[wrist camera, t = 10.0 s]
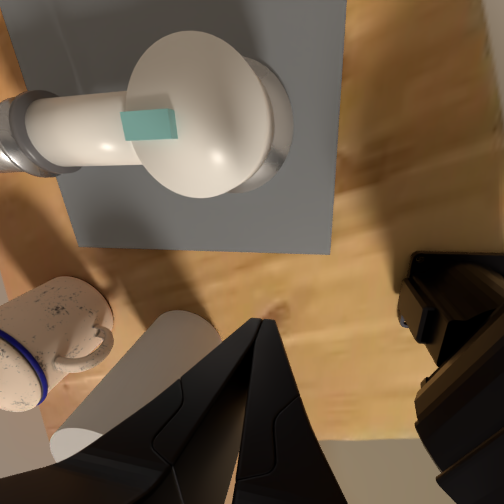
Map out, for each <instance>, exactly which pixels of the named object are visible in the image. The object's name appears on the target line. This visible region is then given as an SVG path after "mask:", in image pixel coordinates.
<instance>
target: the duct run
mask: <svg viewBox="0 0 504 504" xmlns="http://www.w3.org/2000/svg"><path fill="white" fill-rule="evenodd" d="M14 99H15V97H12V98H8V99H5V100H3V101H2V102H0V173H10V172H26V173H28V174H30V175H33V176H37V177H44V178H46V177H56V176H59V175H61V174H57V173H51V172H48V171H46V170H43V169H41V168H40V167H38V166H37V165H35V164H34V163H33V162H31V161H30V160H29V159H28V158H27V157H26V156H25V155H24V154H23V152H22V151H21V150H20V148H19V147H18V145H17V143H16V142H15V140H14V138H13V135H12V133H11V129H10V125H9V109H10V106H11V103H12V101H13V100H14Z"/></svg>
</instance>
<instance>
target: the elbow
mask: <svg viewBox="0 0 504 504" xmlns="http://www.w3.org/2000/svg"><path fill="white" fill-rule="evenodd" d="M9 125H10V129H11V133H12V135H13V138H14V140H15V142H16V143H17V145H18V147H19V148H20V150H21V151H22V152H23V154H24V155H25V156H26V157H27V158H28V159H29V160H30V161H31V162H33V163H34V164H35V165H37V166H38V167H40V168H41V169H43V170H46V171H48V172H51V173H57V174H66V173H74V172H76V171H78V170H80V169H81V168H82V167H83V166H112V165H143V166H144V167H145V168H146V170H147V171H148V172H149V173H150V174H151V175H152V176H153V177H154V179H156V180H157V181H158V182H159V183H160V184H162V185H163V186H165V187H166V188H168V189H169V190H171V191H173V192H175V193H178V194H180V195H183V196H187V197H192V198H209V197H214V196H218V195H221V194H223V193H225V192H227V191H229V190H231V189H233V188H235V187H236V186H238V185H240V184H242V183H244V182H246V181H247V180H248V179H250V178H251V177H252V176H253V175H254V174H255V173H256V172H257V171H258V170H259V169H260V168H261V166H262V165H263V163H264V162H265V160H266V158H267V156H268V154H269V152H270V149H271V145H272V142H273V136H274V113H273V107H272V103H271V100H270V97H269V95H268V92H267V90H266V88H265V86H264V85H263V83H262V81H261V80H260V79H259V77H258V76H257V75H256V73H255V72H254V71H253V70H252V68H251V67H250V66H249V65H248V63H247V62H246V61H245V60H244V58H243V57H242V56H241V55H240V54H239V53H238V52H237V51H236V50H235V49H234V48H233V47H232V46H231V45H229V44H228V43H226V42H225V41H224V40H222V39H220V38H218V37H216V36H214V35H211V34H208V33H205V32H200V31H180V32H176V33H172V34H169V35H167V36H165V37H163V38H161V39H160V40H158V41H156V42H155V43H154V44H153V45H151V46H150V47H149V48H148V49H147V50H146V51H145V53H144V54H143V55H142V56H141V57H140V59H139V61H138V62H137V64H136V66H135V68H134V70H133V72H132V75H131V77H130V81H129V84H128V88H127V91H119V92H108V93H97V94H87V95H76V96H65V97H59V96H58V95H56V94H54V93H51V92H48V91H44V90H33V91H26V92H23V93H21V94H19V95H18V96H16V97H15V99H14V100H13V101H12V103H11V106H10V109H9Z"/></svg>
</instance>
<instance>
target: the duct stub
mask: <svg viewBox="0 0 504 504" xmlns="http://www.w3.org/2000/svg"><path fill="white" fill-rule="evenodd" d="M242 57H243V58H244V60H245V61H246V62H247V63H248V65H249V66H250V67H251V68H252V70H253V71H254V72H255V73H256V75H257V76H258V77H259V79H260V80H261V81H262V83H263V85H264V86H265V88H266V90H267V92H268V95H269V97H270V100H271V103H272V107H273V113H274V136H273V142H272V145H271V149H270V152H269V154H268V156H267V158H266V160H265V162H264V163H263V165H262V166H261V168H260V169H259V170H258V171H257V172H256V173H255V174H254V175H253V176H252V177H251V178H250V179H248V180H247V181H246V182H244V183H242V184H240V185H238V186H236V187H235V188H233V189H231V190H229V191H227V192H226V193H244V192H248V191H251V190H254V189H257V188H258V187H260V186H262V185H264V184H265V183H266V182H268V181H269V180H270V179H271V178H272V177H273V176H274V175H276V173H277V172H278V171H279V170H280V168H281V167H282V165H283V164H284V162H285V160H286V158H287V156H288V154H289V151H290V147H291V144H292V139H293V130H294V122H293V113H292V107H291V104H290V101H289V98H288V96H287V93H286V91H285V89H284V87H283V86H282V84H281V82H280V81H279V80H278V78H277V77H276V76H275V75H274V74H273V73H272V72H271V71H270V70H269V69H268V68H267V67H266V66H264V65H263V64H261V63H260V62H258V61H256V60H253V59H251V58H248V57H244V56H242Z"/></svg>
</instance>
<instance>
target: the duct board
mask: <svg viewBox="0 0 504 504" xmlns="http://www.w3.org/2000/svg"><path fill="white" fill-rule="evenodd" d="M346 4H347V0H0V8H1V11H2V14H3V17H4V20H5V23H6V26H7V29H8V32H9V35H10V38H11V42H12V45H13V48H14V51H15V54H16V57H17V60H18V63H19V66H20V69H21V72H22V75H23V78H24V81H25V84H26V87H27V90H28V91H33V90H44V91H48V92H51V93H54V94H56V95H58V96H59V97H65V96H76V95H87V94H97V93H108V92H119V91H127V88H128V84H129V81H130V77H131V75H132V72H133V70H134V68H135V66H136V64H137V62H138V61H139V59H140V57H141V56H142V55H143V54H144V53H145V51H146V50H147V49H148V48H149V47H150V46H151V45H153V44H154V43H155V42H156V41H158V40H160V39H161V38H163V37H165V36H167V35H169V34H172V33H176V32H180V31H200V32H205V33H208V34H211V35H214V36H216V37H218V38H220V39H222V40H224V41H225V42H226V43H228V44H229V45H231V46H232V47H233V48H234V49H235V50H236V51H237V52H238V53H239V54H240V55H241V56H244V57H248V58H251V59H253V60H256V61H258V62H260V63H261V64H263V65H264V66H266V67H267V68H268V69H269V70H270V71H271V72H272V73H273V74H274V75H275V76H276V77H277V78H278V80H279V81H280V82H281V84H282V86H283V87H284V89H285V91H286V93H287V96H288V98H289V101H290V104H291V107H292V113H293V122H294V130H293V139H292V144H291V147H290V151H289V154H288V156H287V158H286V160H285V162H284V164H283V165H282V167H281V168H280V170H279V171H278V172H277V173H276V175H274V176H273V177H272V178H271V179H270V180H269V181H268V182H266V183H265V184H264V185H262V186H260V187H258V188H257V189H254V190H251V191H248V192H244V193H226V192H225V193H223V194H221V195H218V196H214V197H209V198H192V197H187V196H183V195H180V194H178V193H175V192H173V191H171V190H169V189H168V188H166V187H165V186H163V185H162V184H160V183H159V182H158V181H157V180H156V179H154V177H153V176H152V175H151V174H150V173H149V172H148V171H147V170H146V168H145V167H144V166H143V165H112V166H83V167H82V168H81V169H80V170H78V171H76V172H74V173H66V174H61V175H59V176H56V178H57V181H58V185H59V188H60V191H61V194H62V197H63V200H64V203H65V206H66V209H67V212H68V215H69V218H70V221H71V224H72V227H73V230H74V233H75V236H76V239H77V242H78V245H79V247H98V248H130V249H162V250H194V251H226V252H258V253H290V254H322V255H330V249H331V234H332V218H333V203H334V188H335V172H336V157H337V142H338V127H339V111H340V96H341V81H342V66H343V50H344V35H345V20H346Z"/></svg>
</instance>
